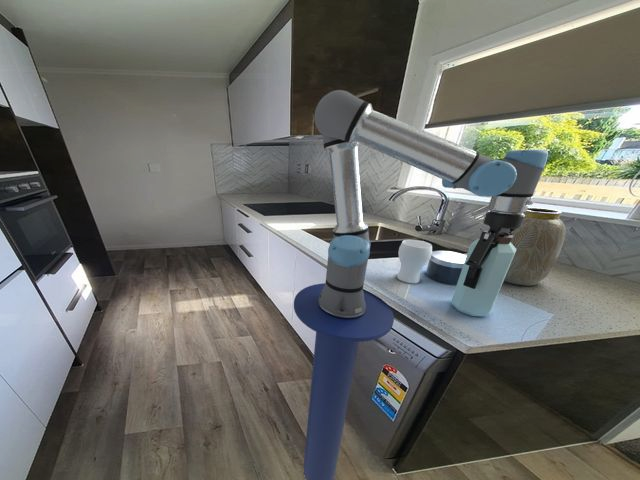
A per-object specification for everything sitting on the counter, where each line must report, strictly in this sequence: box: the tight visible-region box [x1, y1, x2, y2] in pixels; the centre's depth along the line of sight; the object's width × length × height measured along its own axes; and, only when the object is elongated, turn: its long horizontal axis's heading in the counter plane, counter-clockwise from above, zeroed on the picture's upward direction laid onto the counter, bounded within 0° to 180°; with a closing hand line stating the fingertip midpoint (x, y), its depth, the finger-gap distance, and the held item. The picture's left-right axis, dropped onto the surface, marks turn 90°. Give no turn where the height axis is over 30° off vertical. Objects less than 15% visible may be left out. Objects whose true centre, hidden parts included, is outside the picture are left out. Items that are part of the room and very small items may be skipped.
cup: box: [396, 239, 433, 284], centre depth 94 cm, size 11×11×15 cm
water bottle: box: [450, 230, 517, 318], centre depth 73 cm, size 10×10×25 cm
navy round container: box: [425, 250, 467, 286], centre depth 96 cm, size 13×13×9 cm
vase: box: [503, 207, 567, 287], centre depth 91 cm, size 17×17×27 cm
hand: (480, 281), depth 73 cm, fingers open, 13 cm apart
